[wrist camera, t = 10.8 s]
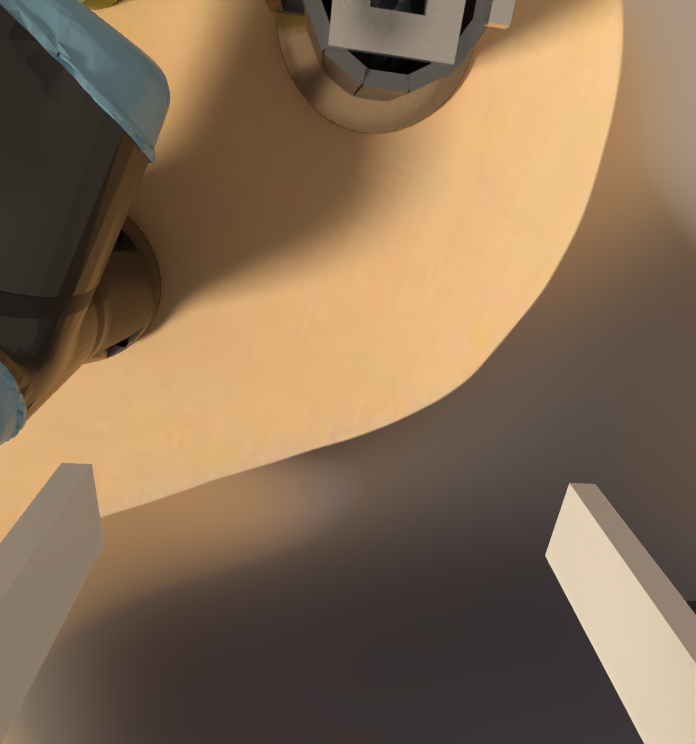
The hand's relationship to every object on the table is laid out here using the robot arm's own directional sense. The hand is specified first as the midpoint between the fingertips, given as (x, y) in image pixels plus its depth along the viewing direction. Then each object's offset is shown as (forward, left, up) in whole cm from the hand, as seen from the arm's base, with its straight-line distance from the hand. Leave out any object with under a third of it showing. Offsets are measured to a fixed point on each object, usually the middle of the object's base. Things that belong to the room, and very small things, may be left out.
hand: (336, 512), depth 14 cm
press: (+2, +17, -35) cm, 39 cm away
